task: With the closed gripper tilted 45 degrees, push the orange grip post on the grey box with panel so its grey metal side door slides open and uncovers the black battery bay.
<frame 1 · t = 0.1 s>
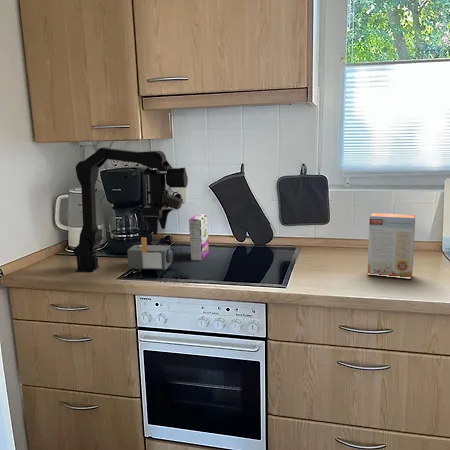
hand: (159, 231, 166), 15 cm above the worktop, tool pointing down, fingers open, 9 cm apart
side door: (151, 253, 169), point 6 cm above the worktop, slide at 0.0 cm
candy bar box: (199, 257, 186), on the worktop
grey box with panel: (150, 266, 175), on the worktop
cracker box: (389, 276, 159), on the worktop
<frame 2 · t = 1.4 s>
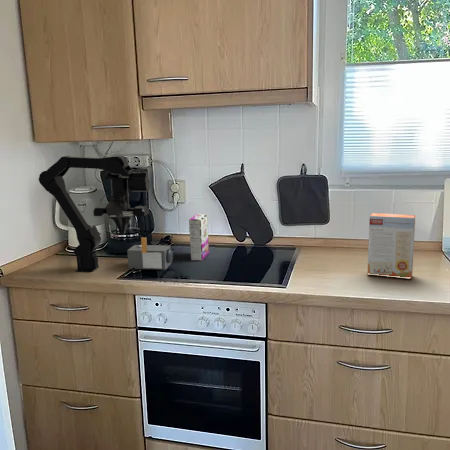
hand: (122, 234, 169), 13 cm above the worktop, tool pointing down, fingers closed
nothing on the worktop moved.
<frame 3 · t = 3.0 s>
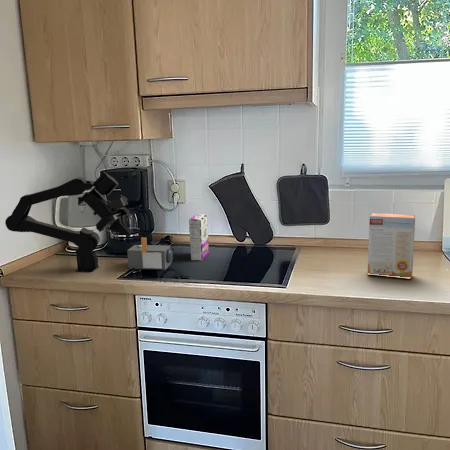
hand: (130, 235, 169), 13 cm above the worktop, tool tilted 45°, fingers closed
nothing on the worktop moved.
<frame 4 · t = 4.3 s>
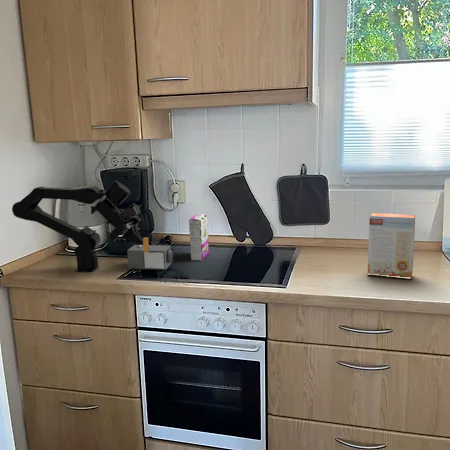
hand: (143, 244, 169), 10 cm above the worktop, tool tilted 45°, fingers closed, pressing on side door
side door: (153, 253, 169), point 6 cm above the worktop, slide at 0.7 cm, touching gripper
everything else where it was.
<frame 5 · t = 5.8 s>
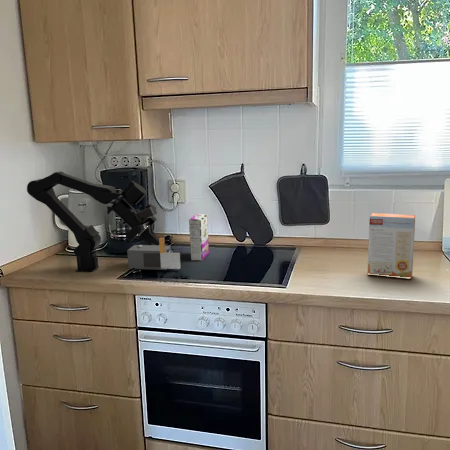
hand: (159, 244, 168), 10 cm above the worktop, tool tilted 45°, fingers closed, pressing on side door
side door: (169, 253, 168), point 6 cm above the worktop, slide at 6.7 cm, touching gripper
everything else where it was.
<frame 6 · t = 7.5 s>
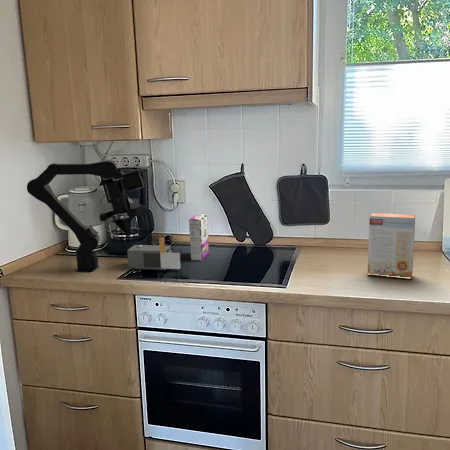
hand: (129, 235, 172), 12 cm above the worktop, tool pointing down, fingers closed
side door: (169, 253, 168), point 6 cm above the worktop, slide at 6.7 cm
everything else where it was.
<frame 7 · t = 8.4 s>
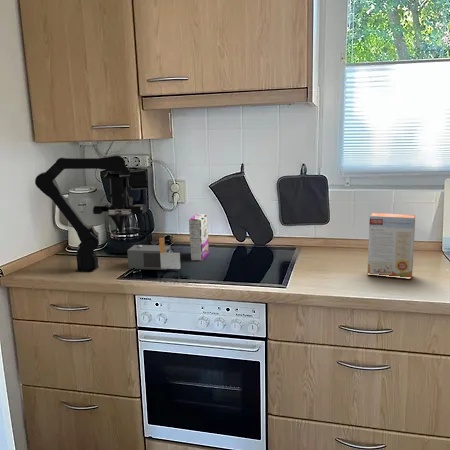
hand: (121, 232, 173), 13 cm above the worktop, tool pointing down, fingers closed
nothing on the worktop moved.
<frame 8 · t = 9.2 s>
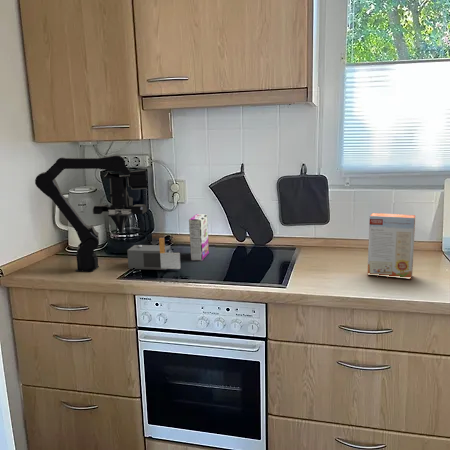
hand: (121, 232, 173), 13 cm above the worktop, tool pointing down, fingers closed
nothing on the worktop moved.
at the end: side door slide at 6.7 cm; candy bar box tilted 0° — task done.
